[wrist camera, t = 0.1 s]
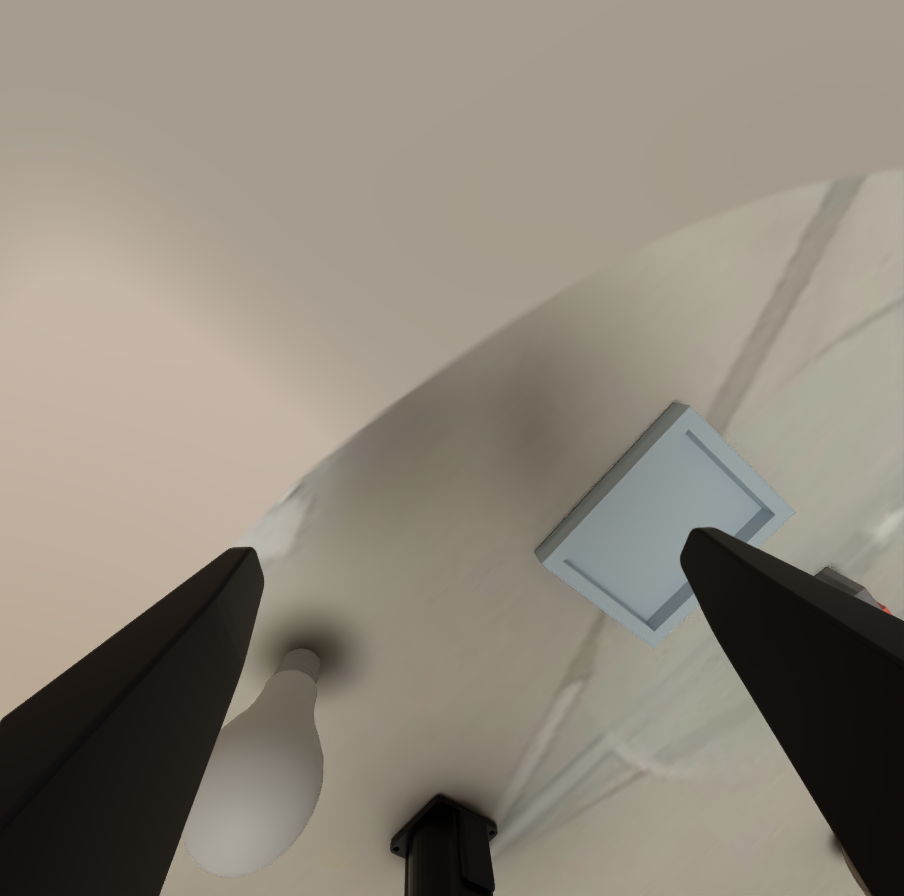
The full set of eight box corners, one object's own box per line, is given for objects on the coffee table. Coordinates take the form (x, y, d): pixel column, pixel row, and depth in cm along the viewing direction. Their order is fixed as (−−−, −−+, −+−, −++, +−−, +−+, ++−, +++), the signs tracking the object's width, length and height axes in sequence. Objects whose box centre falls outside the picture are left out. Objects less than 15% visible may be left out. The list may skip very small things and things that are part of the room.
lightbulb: (312, 600, 25) (234, 785, 14) (367, 661, 27) (334, 868, 16) (238, 648, 26) (110, 861, 15) (297, 705, 27) (219, 935, 16)
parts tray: (641, 633, 28) (653, 648, 27) (534, 552, 26) (541, 564, 24) (775, 503, 26) (796, 512, 25) (673, 402, 24) (690, 405, 22)
